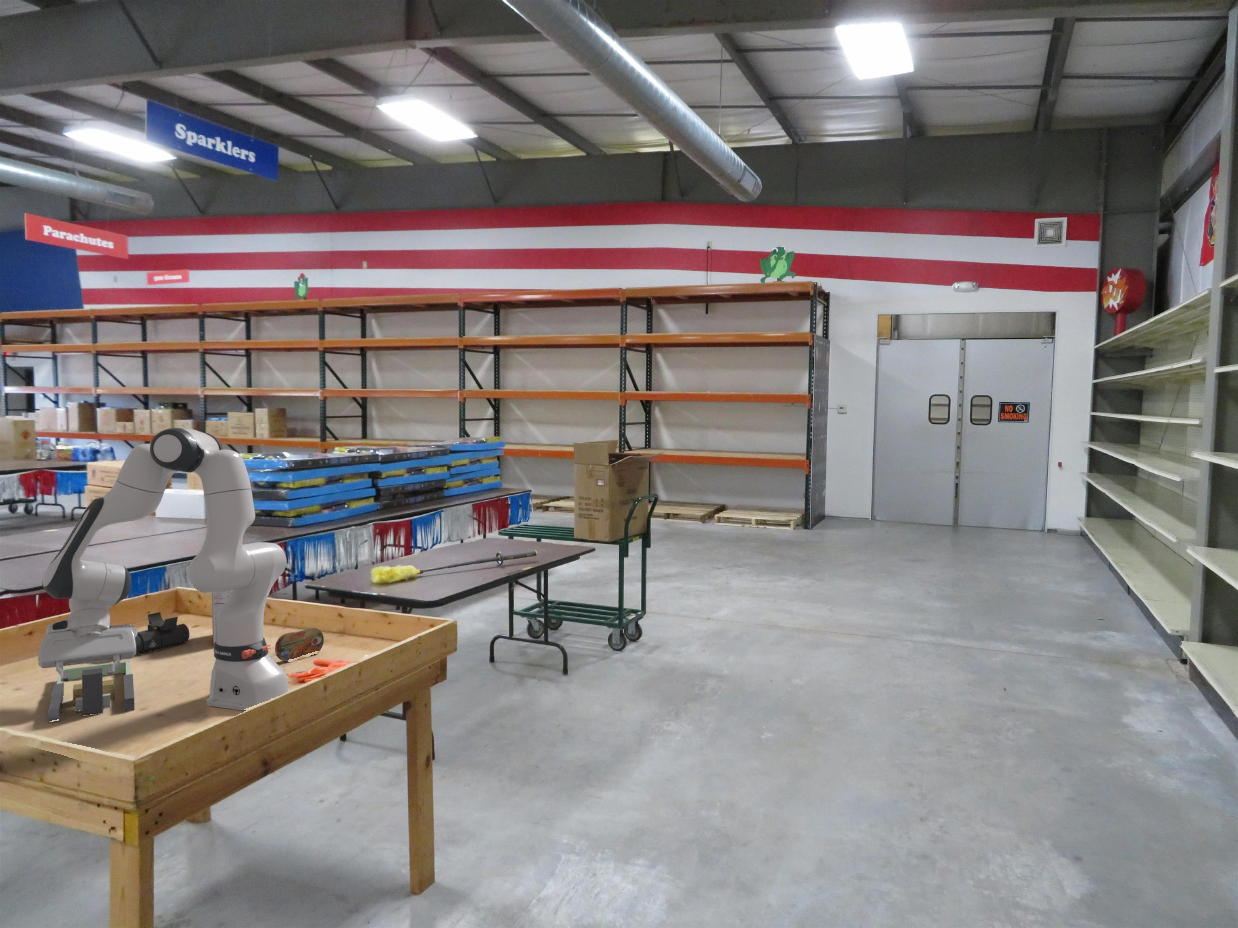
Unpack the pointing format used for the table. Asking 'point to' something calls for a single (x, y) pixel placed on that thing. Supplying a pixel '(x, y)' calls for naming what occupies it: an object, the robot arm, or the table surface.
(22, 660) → the table surface
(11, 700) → the table surface
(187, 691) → the table surface
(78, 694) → the wooden block
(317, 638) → the tin
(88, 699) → the dark grey block
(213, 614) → the cracker box
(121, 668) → the open frame
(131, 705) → the slot jig
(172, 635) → the laser sight
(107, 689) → the brown wooden cube
